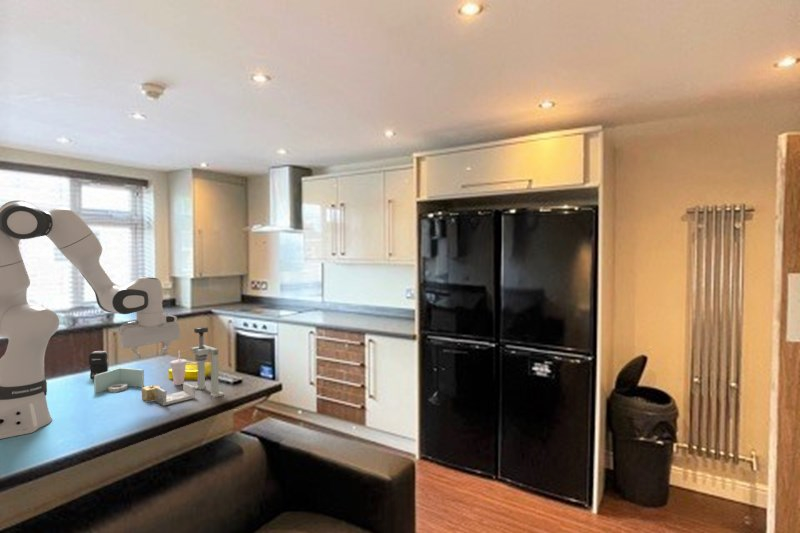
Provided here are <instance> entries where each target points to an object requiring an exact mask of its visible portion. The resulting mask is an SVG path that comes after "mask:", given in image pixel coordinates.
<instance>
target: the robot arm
mask: <svg viewBox="0 0 800 533" xmlns="http://www.w3.org/2000/svg"><path fill="white" fill-rule="evenodd" d="M45 236H46V237H47V238H48V239H49V240H50V241H51V242H52V243H53V244H54V246H56V248H57V250H59V252H60V253H61V254H62V255H63V256H64V257H65V258H66V259H67V260H68V261H69V262H70V263H71V264H72V265H73V266H74V267H75V268H76V269H77V270H78V271H79V272H80V273H81V275H82V277H83V278H84V280H86V282H87V283H88V285H89V286H90V287H91V288H92V290H93V292H94V294H95V300H96V302H97V305H98V307H99V308H100V309H101V310H103V312H107V313H115V314H119V315H130V314H134V313H136V320H134V321H130V322H123V323H122V324H121V325H120V326H119V328H118V330H119V334H120V336H119V346H120V347H122V348H123V349H131V351H132V352H133V354H134V358H135V360H136V359H141V358H142V354H141V352H139V351H137V350H138V347H142V346H148V345H154V344H160V343H164V344H165V345H164V347H162V348H161V353H162V354H168V348H169V347H170V345H171V342H173V341H177V340H179V339H180V337H181V331H180V325H179V323H178V317H177V316H176V315H172V314H168V313H164V308H163V301H164V299H163V298H164V295H163V287H162V281H161V280H160V279H159V278H157V277H151V276H137V278H136V279H135V280H133V281H132V282H130V283H128V284H126V285H124V286H120V285H118V284H116V283H115V282H113V281H112V280H111V278H110V277H109V275H108V274H107V273H106V271H105V270H104V268H103V267H102V265H101V264H100V257H101V256H102V253H103V246H102V244H101V241H100V240H99V238H98V237H97V235H96V234H95V233H94V232H93V230H92V229H91V227H89V226H88V224H87V223H86V222H85V220H83V219H82V218H81V217H80V216H79V215H78V214H77V213H76V212H75V211H73V209H71V208H69V207H68V208H67V207H57V208H54V209H51V210H49V211H43V210H41V209H39V208H38V207H37V206H35V205H34V204H33V203H30V202H28V201H24V200H11V201H8V202H6V203H4V204H3V205H1V206H0V338H4V339H8V342H7V343H8V344H7V347H6V350H5V352H4V354H3V355H2V356H1V357H0V440H1V439H6V438H12V437H15V436H16V437H17V436H22V435H27V434H31V433H34V432H36V431H38V429H40V428H43V427H45V426H46V425H49V424H50V423H51V422H52V421H53V418H52V416H51V413H50V411H49V407H48V403H47V402H48V401H47V397H46V396H47V394H48V381H47V378H45V355H46V352H47V351H46V350H47V347H48V344H49V341H50V339H51V337H52V336H53V335H54V334H56V332H57V331H58V329H59V326H60V318H59V316H58V314H57V313H56V312H55V311H53V310H51V309H49V308H47V307H44V306H42V305H30V304H29V303H28V301H27V291H28V288H29V287H30V285H31V280H30V277H29V274H28V272H27V271H28V270H27V269H26V265H25V263H24V259H23V257H22V254H21V250H20V245H19V244H20V242H21V240H30V239H35V238H38V237H45Z"/></svg>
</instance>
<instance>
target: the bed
mask: <svg viewBox="0 0 800 533" xmlns="http://www.w3.org/2000/svg"><path fill="white" fill-rule="evenodd" d="M182 386H183V387H182V390H183V391H178V392H173V393H169V394H167V390H165V389H163V388H162V387H161V388H159V387H155V400H154V401H155V402H156V403H157V404H159V405H161V406H163V407H164V406H168V405H172V404H177V403H181V402H183V401H184V402H185V401H188V400H192V399H195V398H196V390H195V387H194V386H195V385H191V384H189V383H187V382H184V383H183V384H182Z"/></svg>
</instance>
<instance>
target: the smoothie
mask: <svg viewBox="0 0 800 533" xmlns="http://www.w3.org/2000/svg"><path fill="white" fill-rule="evenodd" d="M177 353H178V359H173V360H171V361H170V362H169V365H170V367H171V368H170V369H172V375H173V379H172V380H173V381H172V382H173V385H174V386H181V384H182V385H183V383H185V380H184V377H185V368H186V363H187V362H188V361H187V359H183V358H182V359H181V350H178V351H177Z"/></svg>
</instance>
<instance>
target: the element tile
mask: <svg viewBox="0 0 800 533" xmlns="http://www.w3.org/2000/svg"><path fill="white" fill-rule="evenodd" d="M210 373H211V361H210V362H209V361H208V362H205V378H207V377H208V376H209V375H211V374H210ZM208 374H209V375H208ZM207 375H208V376H207ZM168 379H169V380H173V375H172V368H170V369H168ZM185 380H190V381H198V368H197V361H187V363H186V368H185V377H184V381H185Z"/></svg>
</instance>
